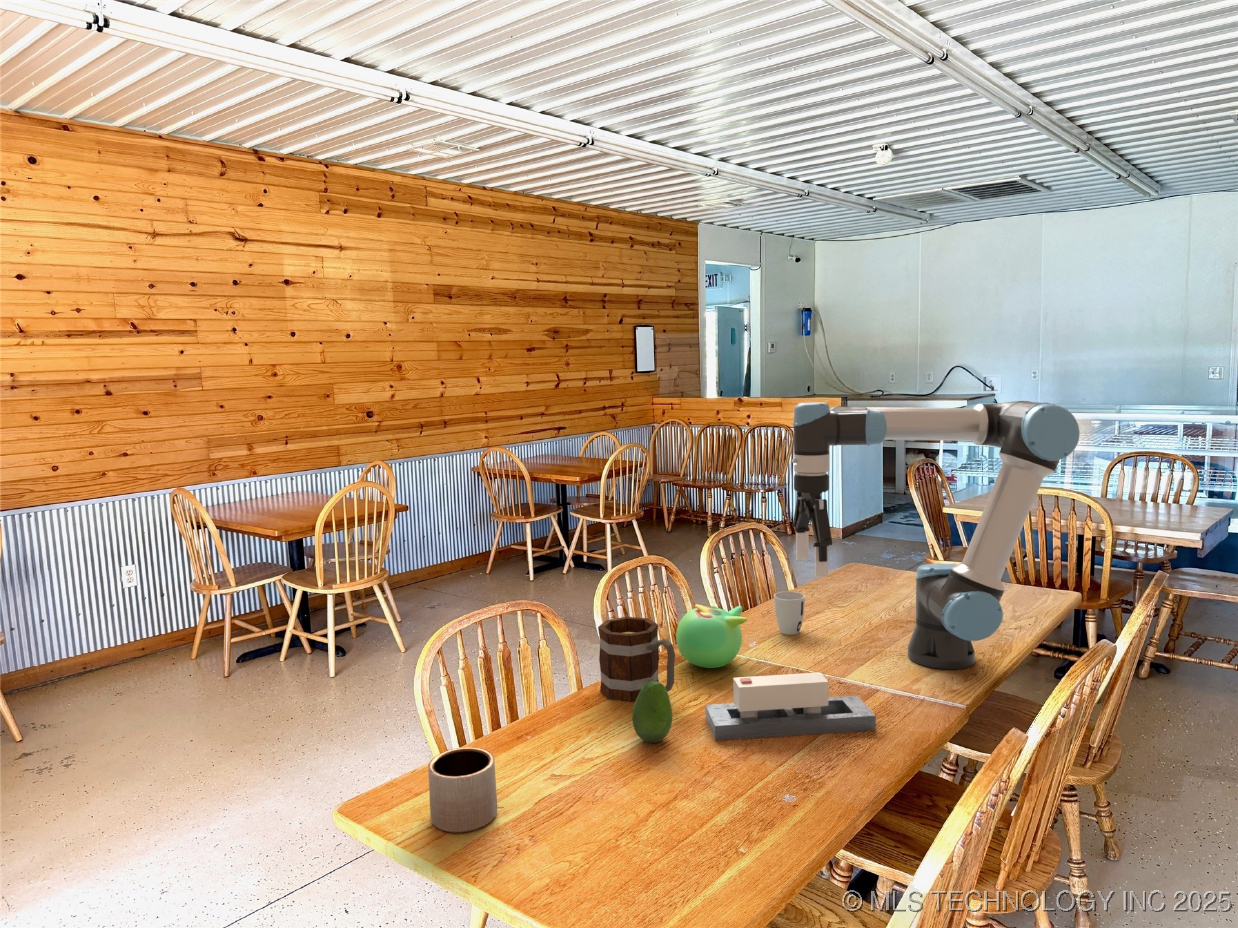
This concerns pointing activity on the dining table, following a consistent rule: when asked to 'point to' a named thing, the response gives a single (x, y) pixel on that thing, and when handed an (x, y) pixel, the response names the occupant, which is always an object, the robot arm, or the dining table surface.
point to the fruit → (652, 712)
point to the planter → (462, 789)
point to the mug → (631, 657)
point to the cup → (789, 611)
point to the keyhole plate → (791, 720)
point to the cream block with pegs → (780, 693)
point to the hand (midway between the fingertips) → (811, 567)
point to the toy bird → (710, 635)
